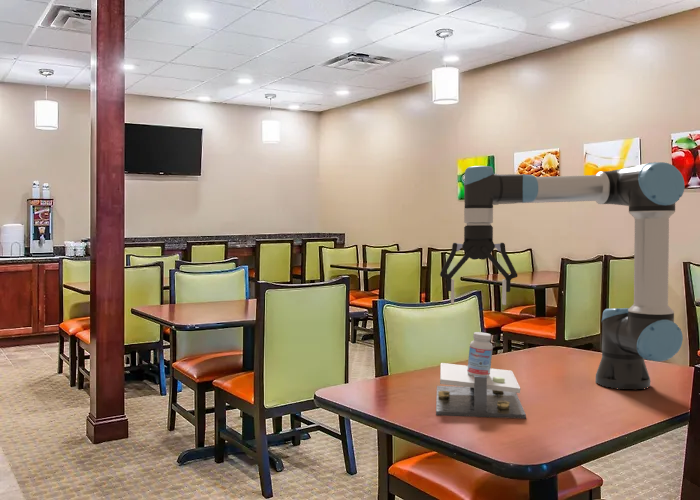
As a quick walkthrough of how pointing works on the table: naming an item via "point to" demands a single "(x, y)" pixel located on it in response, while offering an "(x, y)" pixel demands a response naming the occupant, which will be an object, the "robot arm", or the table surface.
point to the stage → (460, 377)
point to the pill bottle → (480, 355)
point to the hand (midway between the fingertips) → (478, 304)
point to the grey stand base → (478, 401)
